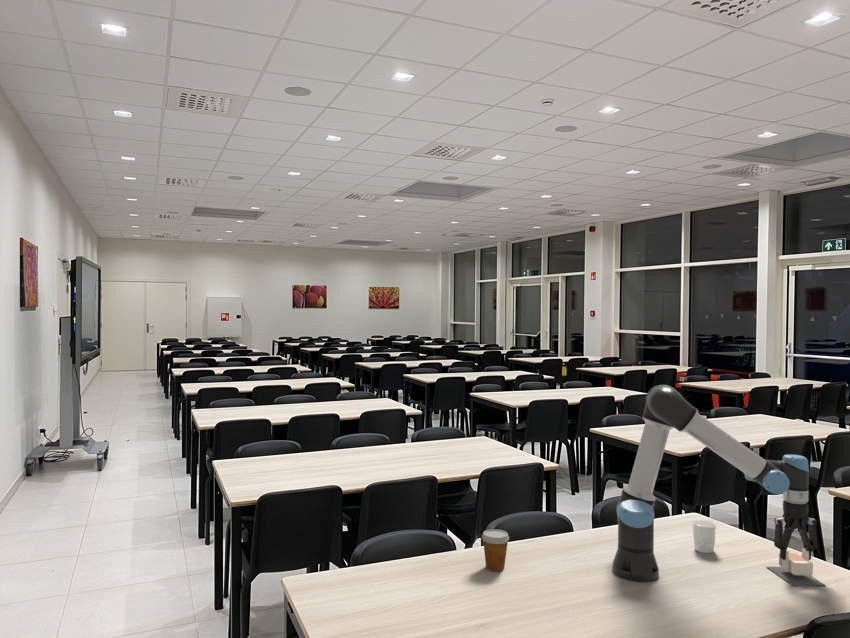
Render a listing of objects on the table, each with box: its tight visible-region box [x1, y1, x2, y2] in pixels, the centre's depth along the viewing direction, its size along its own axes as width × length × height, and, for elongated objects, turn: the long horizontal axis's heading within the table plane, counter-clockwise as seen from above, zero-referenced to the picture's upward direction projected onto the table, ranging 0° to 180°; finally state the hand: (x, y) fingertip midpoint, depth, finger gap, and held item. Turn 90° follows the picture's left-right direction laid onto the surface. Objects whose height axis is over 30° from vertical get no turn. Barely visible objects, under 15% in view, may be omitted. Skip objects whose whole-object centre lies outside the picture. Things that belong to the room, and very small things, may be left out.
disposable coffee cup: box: [481, 529, 510, 572], centre depth 213 cm, size 10×10×12 cm
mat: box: [766, 566, 827, 587], centre depth 208 cm, size 11×15×1 cm
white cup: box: [692, 520, 717, 554], centre depth 232 cm, size 8×8×10 cm
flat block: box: [778, 552, 814, 576], centre depth 208 cm, size 9×6×4 cm, turn 0°
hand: (795, 568), depth 208 cm, fingers closed on flat block, 6 cm apart
